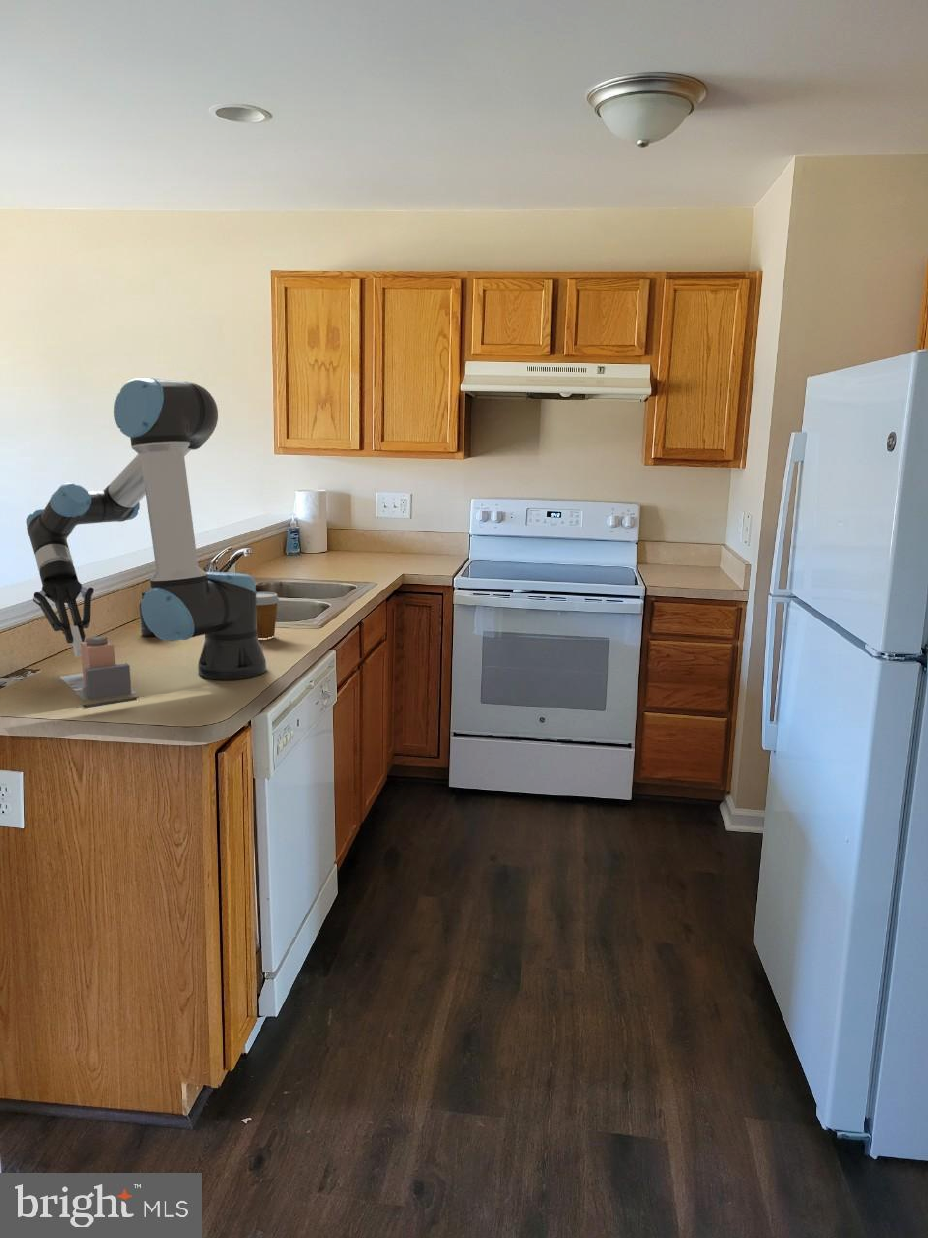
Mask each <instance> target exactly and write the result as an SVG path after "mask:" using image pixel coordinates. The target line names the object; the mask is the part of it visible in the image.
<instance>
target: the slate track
mask: <svg viewBox="0 0 928 1238" xmlns="http://www.w3.org/2000/svg"><path fill="white" fill-rule="evenodd" d="M130 669H131V668H130V665H129V664H128V663H126V662H125V663H118V664H115V665H110V666H102V667H95V668H88V669H85V675H86V686H85V685H84V678H83V673H76V674H69V675H64V676H59V678H60V679H61V680H62V681H63V682H64V683H65V684H66V685H67V686H68V687H69V688H70V689H71V690H72V691H73V692H74V693H75V694H76V695H77V696H79V698H80V699H82V701H84V702H88V701H89V702H90V701H97V700H102V699H103V700H104V699H109V698H110V699H111V698H115V697H122V696H128V695H135V694H137V692H136V691H134V689H132V686H131V684H132V683H131V682H132V681H131V670H130ZM137 700H138V697H137V696H134V697H133V696H132V697H128V698H123V699H116V700H109V701H102V702H97V703H90V704H89V703H88V704H84V705H82V707H83V708H84V709H90V708H96V707H103V706H109V705H116V704H122V703H129V702H133V701H134V702H135V701H137Z"/></svg>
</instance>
